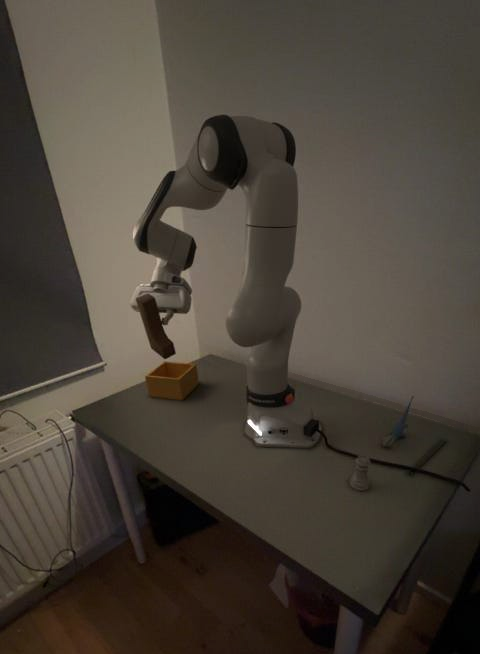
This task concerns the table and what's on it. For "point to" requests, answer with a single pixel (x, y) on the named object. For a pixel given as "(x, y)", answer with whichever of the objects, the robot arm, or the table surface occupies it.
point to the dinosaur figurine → (397, 429)
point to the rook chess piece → (361, 474)
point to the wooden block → (154, 326)
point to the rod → (427, 457)
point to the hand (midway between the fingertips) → (155, 323)
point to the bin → (172, 380)
